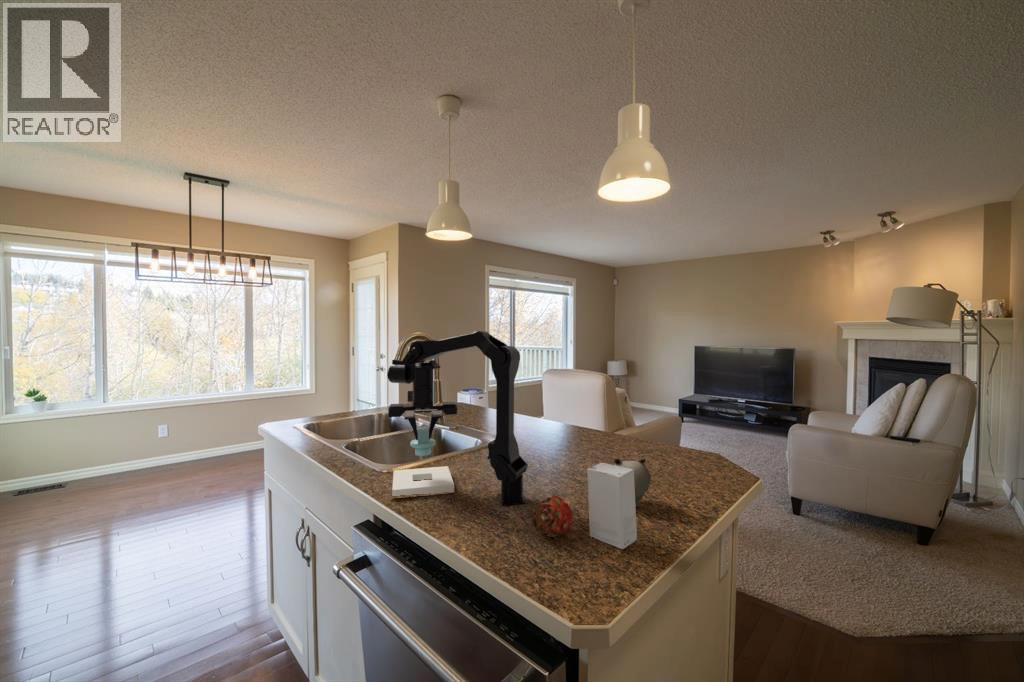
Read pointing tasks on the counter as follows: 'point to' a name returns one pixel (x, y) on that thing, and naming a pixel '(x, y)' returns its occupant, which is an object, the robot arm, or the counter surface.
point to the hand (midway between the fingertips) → (423, 439)
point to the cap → (423, 442)
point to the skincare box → (612, 504)
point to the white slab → (422, 481)
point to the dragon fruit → (552, 516)
